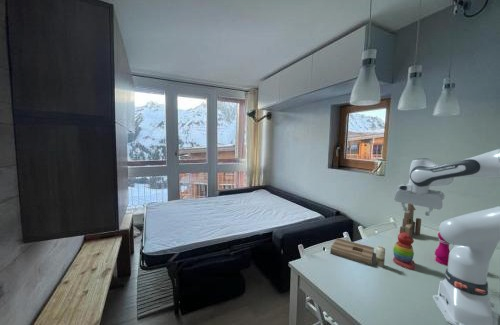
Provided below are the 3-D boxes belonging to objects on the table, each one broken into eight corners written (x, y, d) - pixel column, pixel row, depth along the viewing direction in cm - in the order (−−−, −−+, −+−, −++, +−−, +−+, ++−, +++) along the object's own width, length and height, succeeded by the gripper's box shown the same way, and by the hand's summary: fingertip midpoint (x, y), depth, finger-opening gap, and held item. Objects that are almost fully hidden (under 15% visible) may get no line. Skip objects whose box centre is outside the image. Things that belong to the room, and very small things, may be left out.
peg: (383, 268, 112) (385, 250, 111) (375, 265, 114) (376, 248, 114) (384, 264, 115) (385, 247, 115) (375, 262, 118) (377, 245, 117)
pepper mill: (454, 266, 115) (457, 232, 114) (439, 264, 117) (442, 231, 115) (444, 259, 122) (448, 227, 121) (431, 258, 124) (434, 226, 122)
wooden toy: (409, 238, 152) (411, 205, 150) (399, 234, 158) (402, 203, 156) (420, 235, 158) (423, 203, 156) (411, 231, 164) (413, 201, 162)
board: (370, 265, 114) (371, 259, 114) (330, 253, 127) (330, 248, 126) (373, 252, 129) (373, 247, 128) (336, 242, 141) (337, 237, 141)
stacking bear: (414, 271, 110) (416, 239, 109) (391, 263, 117) (393, 233, 115) (414, 262, 118) (417, 233, 117) (393, 256, 125) (395, 228, 124)
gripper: (445, 190, 104) (442, 217, 105) (397, 184, 119) (395, 207, 120) (444, 192, 99) (441, 219, 101) (394, 185, 115) (392, 209, 116)
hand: (415, 213), depth 111 cm, fingers open, 8 cm apart
